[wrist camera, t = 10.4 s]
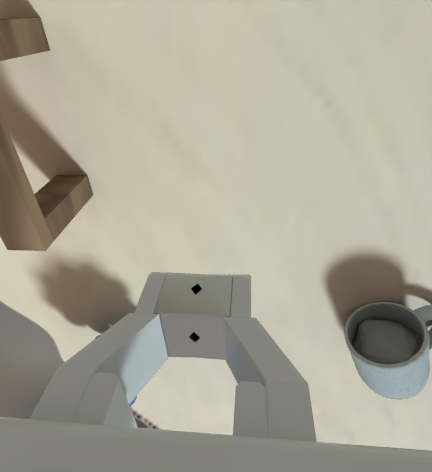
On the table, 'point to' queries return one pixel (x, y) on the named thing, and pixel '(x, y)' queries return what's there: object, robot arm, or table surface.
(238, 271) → the table surface
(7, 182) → the bridge
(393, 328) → the ceramic mug
